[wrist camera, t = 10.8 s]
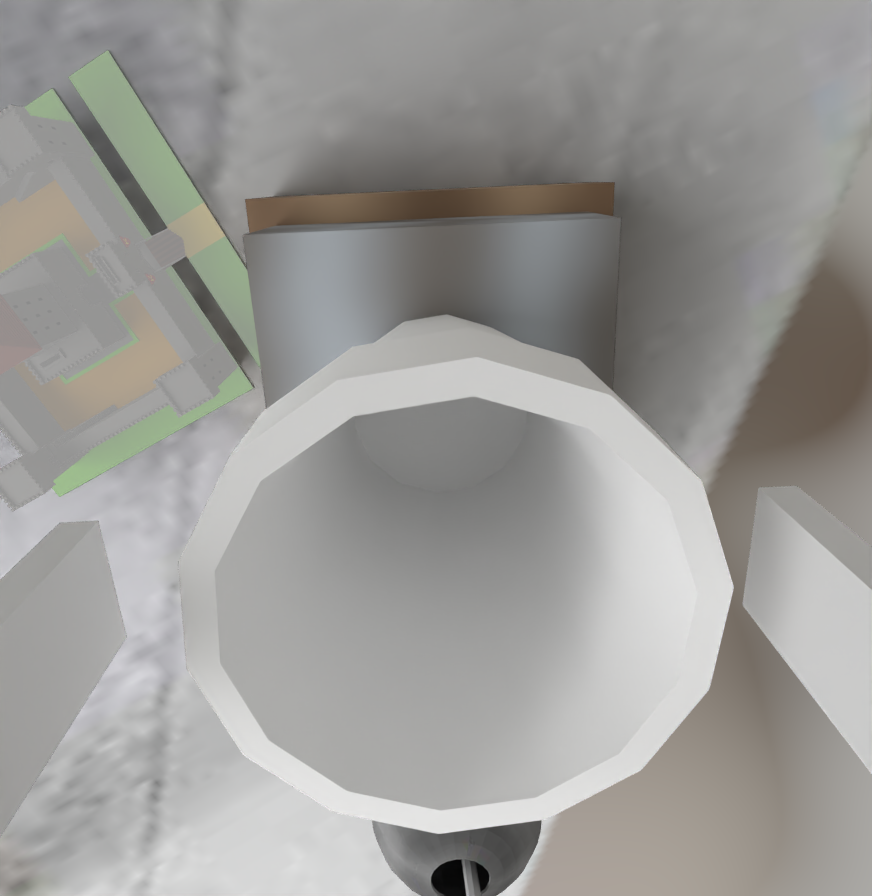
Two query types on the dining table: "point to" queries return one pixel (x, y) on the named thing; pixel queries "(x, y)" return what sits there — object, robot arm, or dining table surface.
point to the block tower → (432, 270)
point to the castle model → (104, 293)
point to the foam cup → (453, 584)
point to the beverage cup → (458, 857)
